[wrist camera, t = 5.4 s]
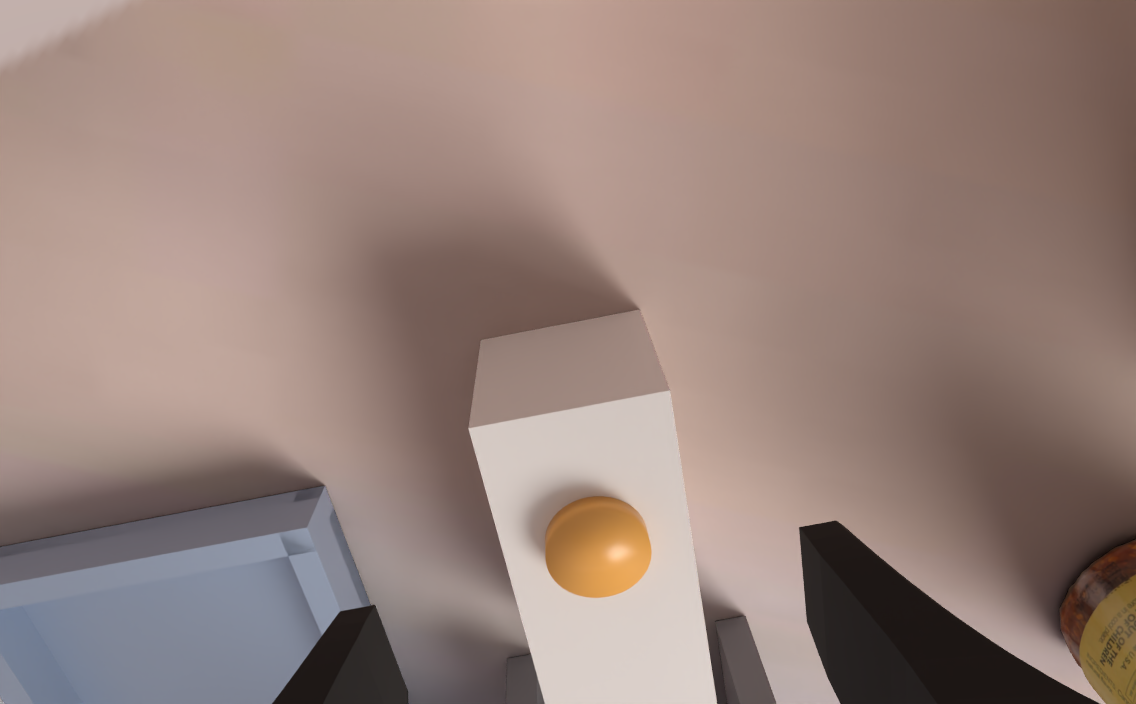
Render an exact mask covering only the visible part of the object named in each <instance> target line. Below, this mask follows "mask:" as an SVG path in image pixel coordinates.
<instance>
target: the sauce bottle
mask: <svg viewBox="0 0 1136 704" xmlns="http://www.w3.org/2000/svg"><path fill="white" fill-rule="evenodd" d="M1059 612H1060V620H1061V631H1062V633H1063V635H1064V638H1065V641H1066V644H1067V646H1068V648H1069V650H1070V652H1071V653H1072V655H1073V657H1074V659H1075V661H1076V662H1077V664H1078V665H1079V666H1080V667H1081V668H1082V670H1083V672H1084V675H1085V677H1086V678H1087V680H1088V681H1089V683H1090V684H1091V686H1092V687H1093V689H1094V690H1095V691H1096V692H1097V693H1098V695H1099V696H1100V697H1101V698H1102V699H1103V701H1104V702H1105V703H1106V704H1136V540H1133V541H1131V542H1128V543H1126V544H1123V545H1121V546H1118V547H1115V548H1113V549H1112V550H1110V551H1109V552H1107V553H1106V554H1105V555H1104V556H1102V557H1101V558H1099V559H1097V560H1096V561H1095V562H1093V563H1092V564H1091V565H1090V566H1089V567H1088V568H1087V569H1086V570H1084V571H1083V572H1082V573H1081V574H1080V576H1079V577H1078V579H1077V580H1076V582H1075V583H1074V584H1073V585H1071V587H1070V588H1069V591H1068V593H1067V595H1066V597H1065V599H1064V601H1063V602H1062V605H1061V607H1060V608H1059Z"/></svg>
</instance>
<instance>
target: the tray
mask: <svg viewBox="0 0 1136 704" xmlns="http://www.w3.org/2000/svg"><path fill="white" fill-rule="evenodd" d="M366 606H371V604H370V602H369V599H368V597H367V594H366V591H365V589H364V586H363V584H362V581H361V578H360V576H359V573H358V570H357V568H356V565H355V563H354V560H353V557H352V555H351V552H350V550H349V547H348V544H347V542H346V539H345V537H344V534H343V531H342V529H341V526H340V523H339V521H338V518H337V516H336V513H335V510H334V508H333V505H332V503H331V500H330V497H329V495H328V492H327V489H326V487H325V486H320V487H315V488H310V489H305V490H299V491H294V492H289V493H283V494H278V495H273V496H267V497H262V498H257V499H252V500H246V501H241V502H236V503H230V504H225V505H220V506H214V507H209V508H204V509H199V510H193V511H188V512H183V513H177V514H172V515H167V516H161V517H156V518H151V519H146V520H140V521H135V522H130V523H124V524H119V525H114V526H109V527H103V528H98V529H93V530H87V531H82V532H77V533H71V534H66V535H61V536H56V537H50V538H45V539H40V540H34V541H29V542H24V543H18V544H13V545H8V546H3V547H0V697H1V699H2V700H3V702H4V703H5V704H272V703H273V702H274V700H275V699H276V698H277V696H278V695H279V694H280V692H281V691H282V690H283V688H284V687H285V686H286V684H287V683H288V682H289V680H290V679H291V678H292V676H293V675H294V673H295V672H296V671H297V669H298V668H299V667H300V665H301V664H302V662H303V661H304V660H305V658H306V657H307V656H308V654H309V653H310V651H311V650H312V649H313V647H314V646H315V644H316V643H317V642H318V640H319V639H320V638H321V636H322V635H323V634H324V632H325V631H326V629H327V628H328V627H329V625H330V624H331V623H332V621H333V620H334V619H335V617H336V616H337V615H338V613H339V612H340V611H344V610H349V609H355V608H360V607H366ZM407 704H408V703H407Z"/></svg>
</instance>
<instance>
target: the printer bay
mask: <svg viewBox="0 0 1136 704" xmlns="http://www.w3.org/2000/svg"><path fill="white" fill-rule="evenodd" d="M715 623H716V630H717V636H718V643H719V650H720V657H721V664H722V671H723V677H724V684H725V691H726V698H727V704H776V701H775V698H774V695H773V693H772V690H771V687H770V684H769V681H768V678H767V676H766V673H765V670H764V667H763V664H762V661H761V659H760V656H759V653H758V650H757V647H756V645H755V642H754V639H753V636H752V633H751V630H750V628H749V625H748V622H747V619H746V616H742V617H737V618H731V619H726V620H720V621H715ZM506 704H545V702H544V699H543V695H542V691H541V688H540V684H539V681H538V677H537V673H536V670H535V666H534V663H533V659H532V655H531V654H530V655H524V656H519V657H513V658H508V659H507V675H506Z"/></svg>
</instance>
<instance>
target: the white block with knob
mask: <svg viewBox="0 0 1136 704" xmlns="http://www.w3.org/2000/svg"><path fill="white" fill-rule="evenodd" d="M468 429H469V433H470V436H471V440H472V443H473V447H474V451H475V454H476V458H477V461H478V465H479V468H480V472H481V476H482V479H483V483H484V486H485V490H486V494H487V497H488V501H489V504H490V508H491V512H492V515H493V519H494V522H495V526H496V530H497V533H498V537H499V540H500V544H501V548H502V551H503V555H504V558H505V562H506V566H507V569H508V573H509V576H510V580H511V584H512V587H513V591H514V594H515V598H516V602H517V605H518V609H519V612H520V616H521V620H522V623H523V627H524V630H525V634H526V637H527V641H528V645H529V648H530V652H531V655H532V659H533V663H534V666H535V670H536V673H537V677H538V681H539V684H540V688H541V691H542V695H543V699H544V702H545V704H717V700H716V693H715V687H714V680H713V673H712V667H711V660H710V653H709V647H708V640H707V633H706V627H705V620H704V613H703V607H702V600H701V593H700V587H699V580H698V573H697V567H696V560H695V553H694V547H693V540H692V533H691V527H690V520H689V513H688V507H687V500H686V493H685V487H684V480H683V473H682V467H681V460H680V453H679V447H678V440H677V433H676V427H675V420H674V413H673V407H672V400H671V393H670V389H669V386H668V383H667V381H666V378H665V375H664V373H663V370H662V367H661V365H660V362H659V359H658V356H657V354H656V351H655V348H654V346H653V343H652V340H651V338H650V335H649V332H648V329H647V327H646V324H645V321H644V319H643V316H642V313H641V311H640V310H635V311H629V312H624V313H619V314H614V315H609V316H603V317H598V318H593V319H588V320H582V321H577V322H572V323H567V324H562V325H556V326H551V327H546V328H541V329H536V330H530V331H525V332H520V333H515V334H510V335H504V336H499V337H494V338H489V339H483V340H481V343H480V350H479V357H478V364H477V371H476V378H475V385H474V392H473V399H472V406H471V413H470V420H469V427H468Z"/></svg>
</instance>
